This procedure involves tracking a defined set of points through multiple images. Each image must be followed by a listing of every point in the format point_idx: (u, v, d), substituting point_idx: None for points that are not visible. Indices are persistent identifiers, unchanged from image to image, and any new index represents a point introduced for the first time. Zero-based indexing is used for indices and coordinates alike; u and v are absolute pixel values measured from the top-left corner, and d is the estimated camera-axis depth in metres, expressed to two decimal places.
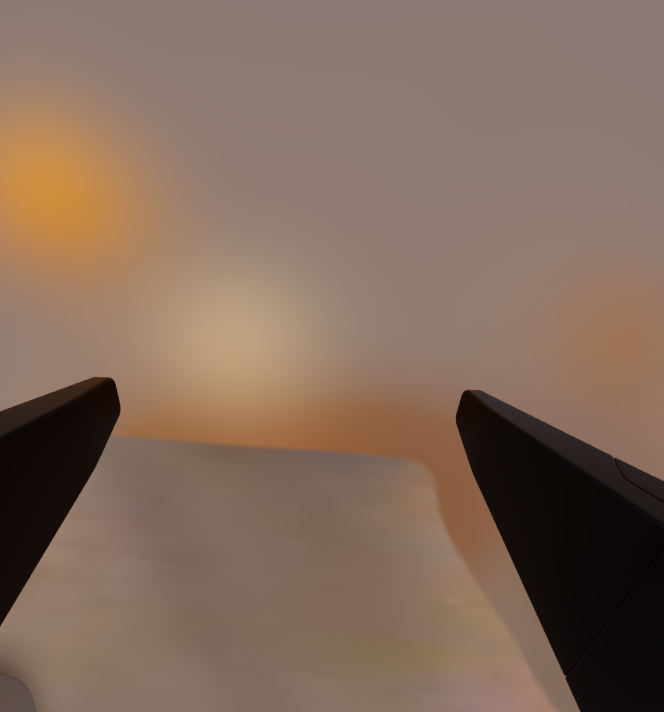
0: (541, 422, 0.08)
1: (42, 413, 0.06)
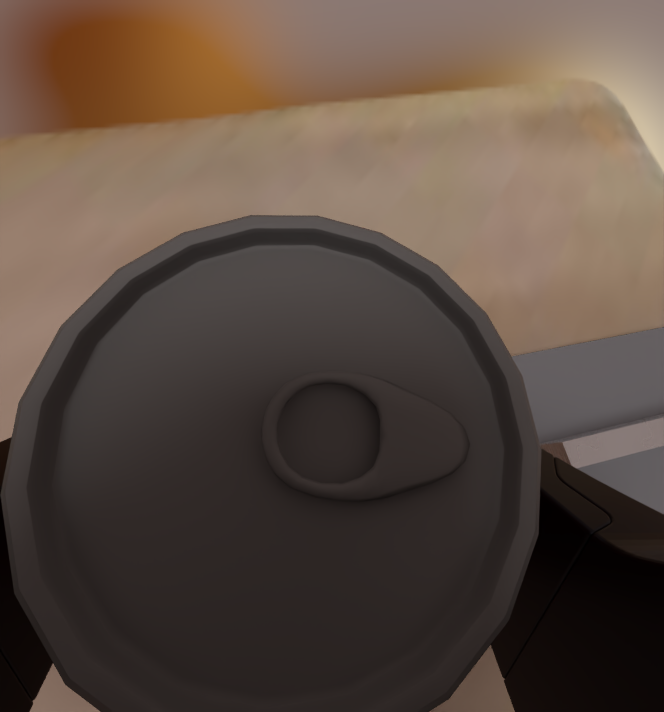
0: None
1: None
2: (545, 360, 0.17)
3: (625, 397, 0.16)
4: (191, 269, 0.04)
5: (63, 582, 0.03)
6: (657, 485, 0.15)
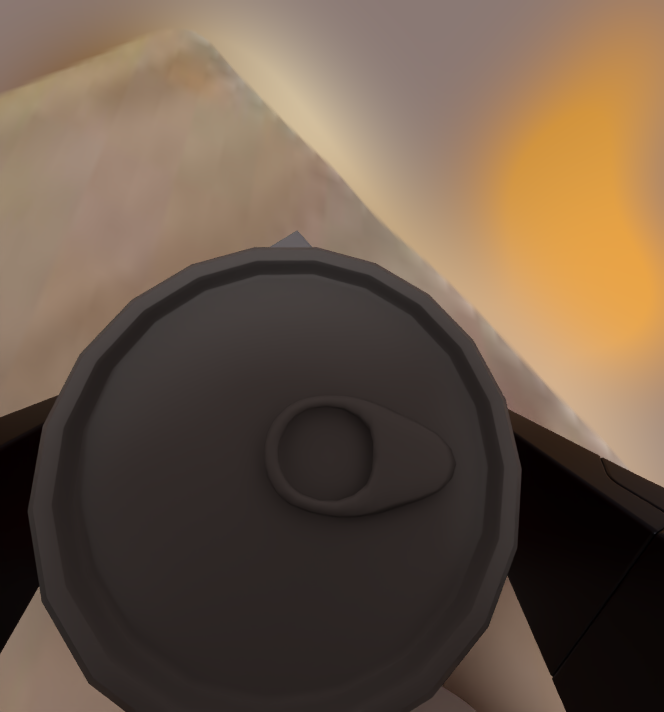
0: (530, 422, 0.07)
1: None
2: None
3: None
4: (199, 298, 0.05)
5: (85, 591, 0.04)
6: None
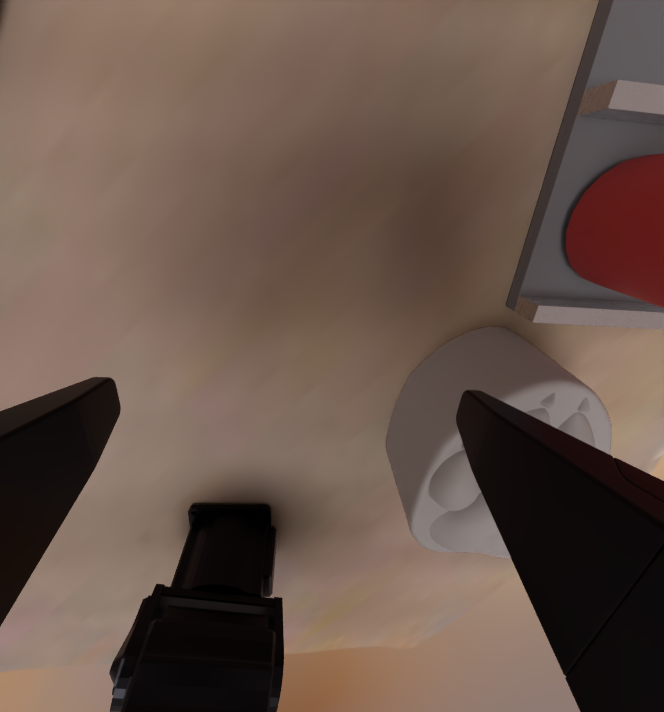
0: (541, 422, 0.08)
1: (42, 413, 0.06)
2: None
3: None
4: None
5: None
6: None
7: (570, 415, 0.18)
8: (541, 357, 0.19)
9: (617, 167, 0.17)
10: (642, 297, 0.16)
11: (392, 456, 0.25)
